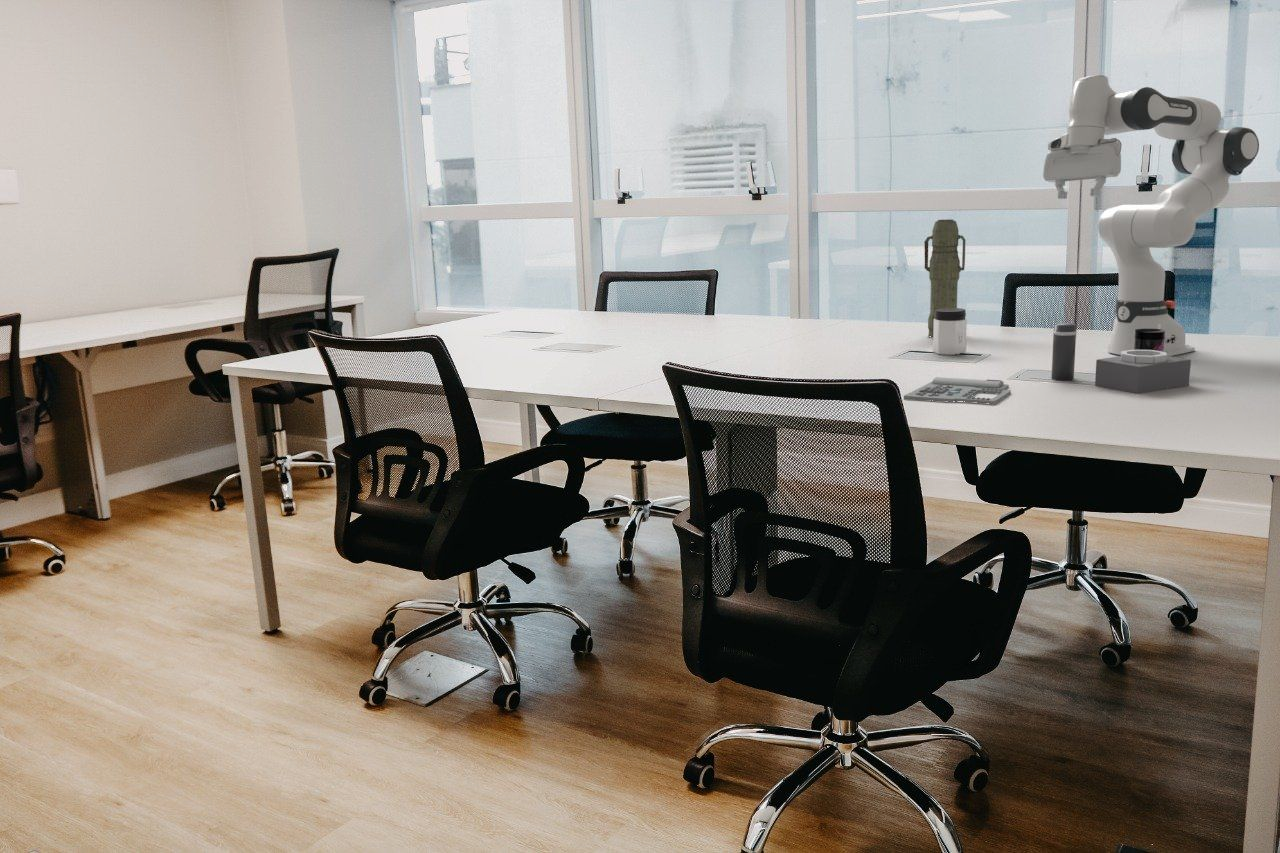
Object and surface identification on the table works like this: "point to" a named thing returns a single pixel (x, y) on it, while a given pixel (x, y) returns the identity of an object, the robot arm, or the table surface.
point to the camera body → (1142, 371)
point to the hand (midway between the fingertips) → (1078, 197)
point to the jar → (949, 331)
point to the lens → (1063, 351)
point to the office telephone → (959, 390)
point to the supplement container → (1149, 339)
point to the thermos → (943, 267)
